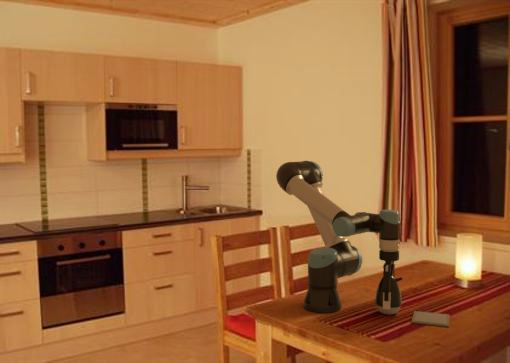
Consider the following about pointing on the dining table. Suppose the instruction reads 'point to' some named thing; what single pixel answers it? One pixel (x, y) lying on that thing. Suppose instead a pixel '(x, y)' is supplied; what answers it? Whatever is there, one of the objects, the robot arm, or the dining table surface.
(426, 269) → the dining table surface
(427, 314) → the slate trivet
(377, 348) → the dining table surface
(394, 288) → the pump dispenser
